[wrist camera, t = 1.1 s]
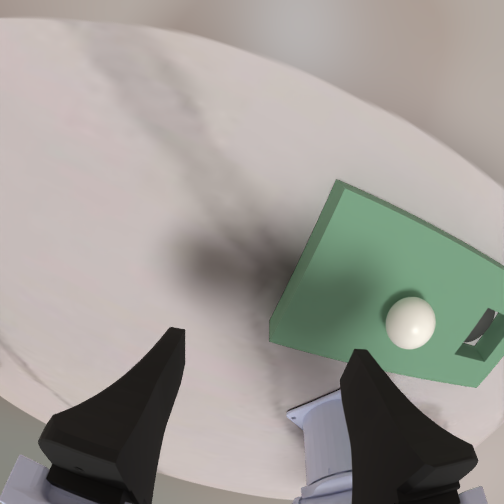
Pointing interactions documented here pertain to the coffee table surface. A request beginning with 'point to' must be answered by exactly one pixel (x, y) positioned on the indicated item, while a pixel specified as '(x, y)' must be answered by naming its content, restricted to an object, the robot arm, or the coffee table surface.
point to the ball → (410, 323)
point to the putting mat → (391, 292)
